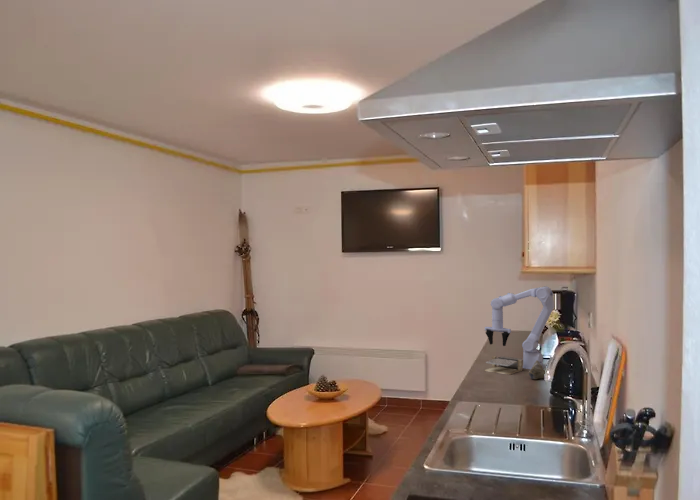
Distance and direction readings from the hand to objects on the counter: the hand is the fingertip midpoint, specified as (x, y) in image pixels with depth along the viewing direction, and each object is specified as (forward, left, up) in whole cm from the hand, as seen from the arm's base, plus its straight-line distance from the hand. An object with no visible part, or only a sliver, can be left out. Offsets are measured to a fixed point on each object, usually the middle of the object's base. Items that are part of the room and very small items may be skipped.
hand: (497, 344), depth 296 cm
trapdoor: (-9, +8, -6) cm, 13 cm away
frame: (-9, +8, -10) cm, 16 cm away
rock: (-26, +18, -4) cm, 32 cm away
